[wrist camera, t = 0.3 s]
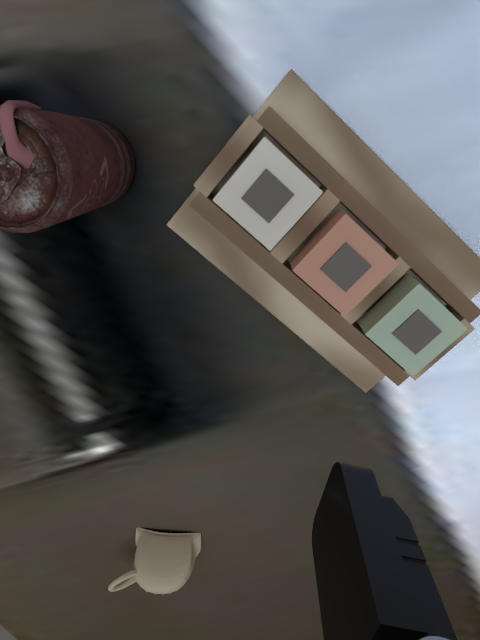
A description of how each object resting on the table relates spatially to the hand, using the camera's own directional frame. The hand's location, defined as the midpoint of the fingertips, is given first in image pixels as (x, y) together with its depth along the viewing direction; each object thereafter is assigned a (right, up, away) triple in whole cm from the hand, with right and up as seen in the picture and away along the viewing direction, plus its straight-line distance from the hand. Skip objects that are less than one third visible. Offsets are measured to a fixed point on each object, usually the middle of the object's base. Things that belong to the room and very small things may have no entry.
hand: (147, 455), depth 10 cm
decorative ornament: (-6, -20, +39) cm, 44 cm away
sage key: (+14, +3, +24) cm, 28 cm away
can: (-9, +15, +25) cm, 31 cm away
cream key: (+4, +12, +21) cm, 25 cm away
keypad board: (+9, +9, +27) cm, 30 cm away
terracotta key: (+9, +7, +23) cm, 26 cm away
